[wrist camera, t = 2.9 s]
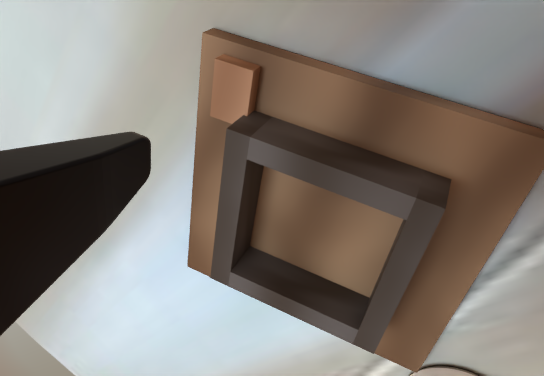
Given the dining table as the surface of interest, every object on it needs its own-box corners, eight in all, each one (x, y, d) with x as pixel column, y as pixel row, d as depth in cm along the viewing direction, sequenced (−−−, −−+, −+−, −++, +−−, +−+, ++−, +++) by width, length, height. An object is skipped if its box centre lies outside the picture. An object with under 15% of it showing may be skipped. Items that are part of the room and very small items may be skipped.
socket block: (556, 133, 18) (565, 174, 15) (419, 359, 28) (410, 409, 25) (213, 28, 22) (172, 45, 19) (195, 257, 31) (166, 290, 29)
